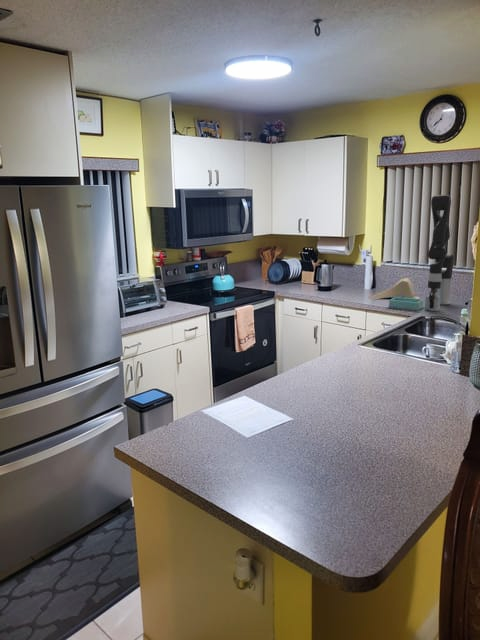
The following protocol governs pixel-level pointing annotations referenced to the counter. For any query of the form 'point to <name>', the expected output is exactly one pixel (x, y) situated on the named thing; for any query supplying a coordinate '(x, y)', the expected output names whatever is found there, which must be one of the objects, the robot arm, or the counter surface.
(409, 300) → the tote
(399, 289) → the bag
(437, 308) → the medicine box
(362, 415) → the counter surface
